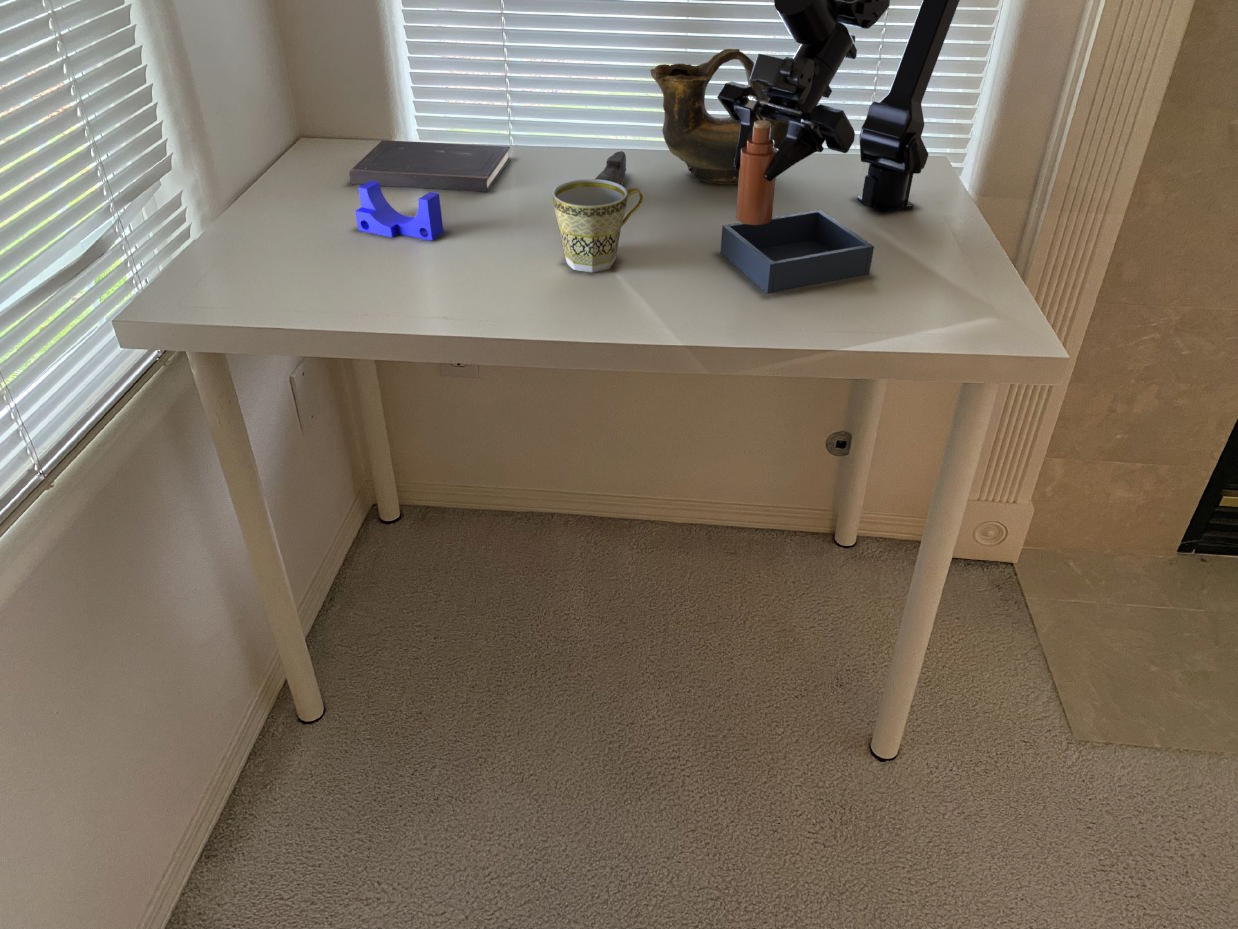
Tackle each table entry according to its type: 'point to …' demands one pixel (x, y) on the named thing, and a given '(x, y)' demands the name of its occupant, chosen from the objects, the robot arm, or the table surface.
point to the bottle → (756, 177)
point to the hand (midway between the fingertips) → (751, 174)
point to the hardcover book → (432, 165)
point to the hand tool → (614, 168)
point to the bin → (796, 251)
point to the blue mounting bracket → (398, 215)
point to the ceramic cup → (591, 221)
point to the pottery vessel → (705, 118)
